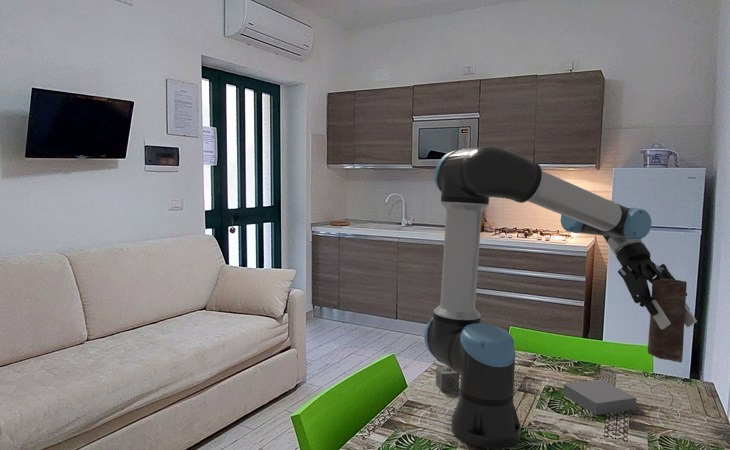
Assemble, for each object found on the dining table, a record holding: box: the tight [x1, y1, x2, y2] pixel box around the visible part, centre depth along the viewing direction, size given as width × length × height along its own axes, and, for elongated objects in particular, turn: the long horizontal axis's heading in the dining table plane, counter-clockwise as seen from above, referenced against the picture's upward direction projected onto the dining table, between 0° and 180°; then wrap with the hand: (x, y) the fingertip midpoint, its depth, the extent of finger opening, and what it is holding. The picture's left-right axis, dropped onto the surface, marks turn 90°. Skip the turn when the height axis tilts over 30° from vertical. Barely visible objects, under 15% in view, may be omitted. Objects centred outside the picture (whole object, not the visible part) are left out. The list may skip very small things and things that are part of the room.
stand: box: [562, 378, 637, 416], centre depth 125 cm, size 12×12×3 cm
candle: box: [647, 279, 688, 363], centre depth 119 cm, size 8×7×20 cm
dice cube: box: [435, 366, 460, 392], centre depth 134 cm, size 5×5×5 cm
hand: (679, 325), depth 116 cm, fingers closed on candle, 7 cm apart
